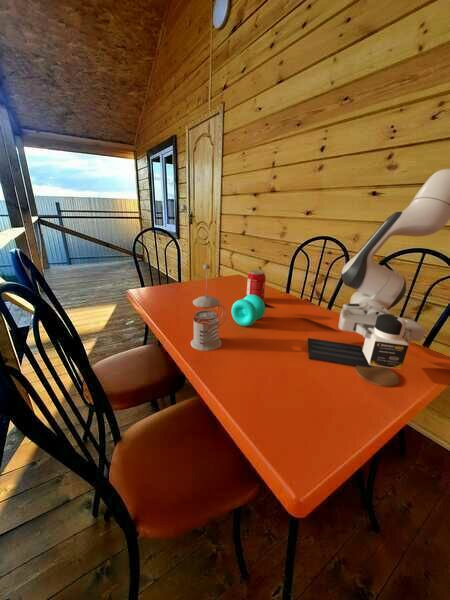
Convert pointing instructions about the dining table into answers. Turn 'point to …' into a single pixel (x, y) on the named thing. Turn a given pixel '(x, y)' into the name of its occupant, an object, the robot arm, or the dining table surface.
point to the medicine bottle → (386, 342)
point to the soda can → (256, 283)
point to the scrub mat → (336, 353)
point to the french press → (206, 338)
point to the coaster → (378, 375)
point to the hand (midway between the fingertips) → (386, 338)
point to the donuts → (248, 310)
